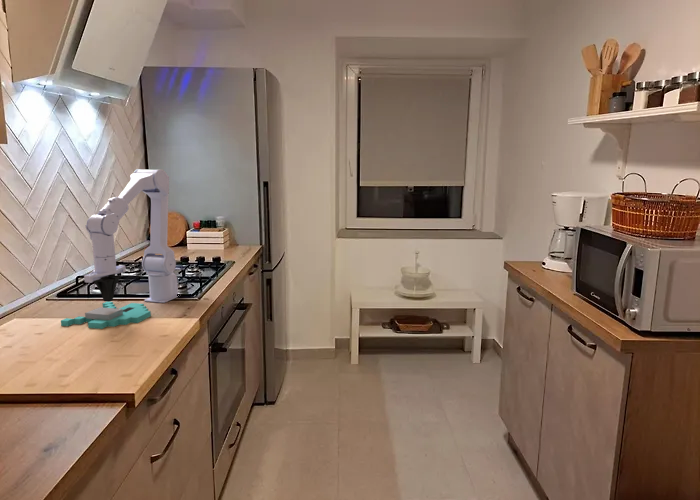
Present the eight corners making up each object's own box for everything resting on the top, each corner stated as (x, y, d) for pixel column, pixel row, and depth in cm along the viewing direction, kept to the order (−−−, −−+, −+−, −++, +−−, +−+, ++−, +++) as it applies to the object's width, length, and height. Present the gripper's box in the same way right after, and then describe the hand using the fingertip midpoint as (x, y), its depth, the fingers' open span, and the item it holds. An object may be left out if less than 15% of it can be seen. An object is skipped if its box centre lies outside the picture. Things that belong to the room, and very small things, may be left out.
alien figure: (61, 327, 144) (123, 332, 140) (60, 320, 144) (122, 324, 140) (107, 308, 163) (163, 311, 160) (106, 301, 163) (162, 304, 159)
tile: (99, 307, 151) (84, 312, 146) (122, 309, 149) (108, 315, 144) (100, 312, 152) (85, 318, 146) (123, 314, 150) (108, 320, 144)
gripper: (110, 250, 154) (114, 293, 156) (73, 259, 140) (78, 306, 142) (130, 251, 152) (133, 295, 154) (94, 261, 138) (98, 308, 141)
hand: (108, 300), depth 148 cm, fingers closed
